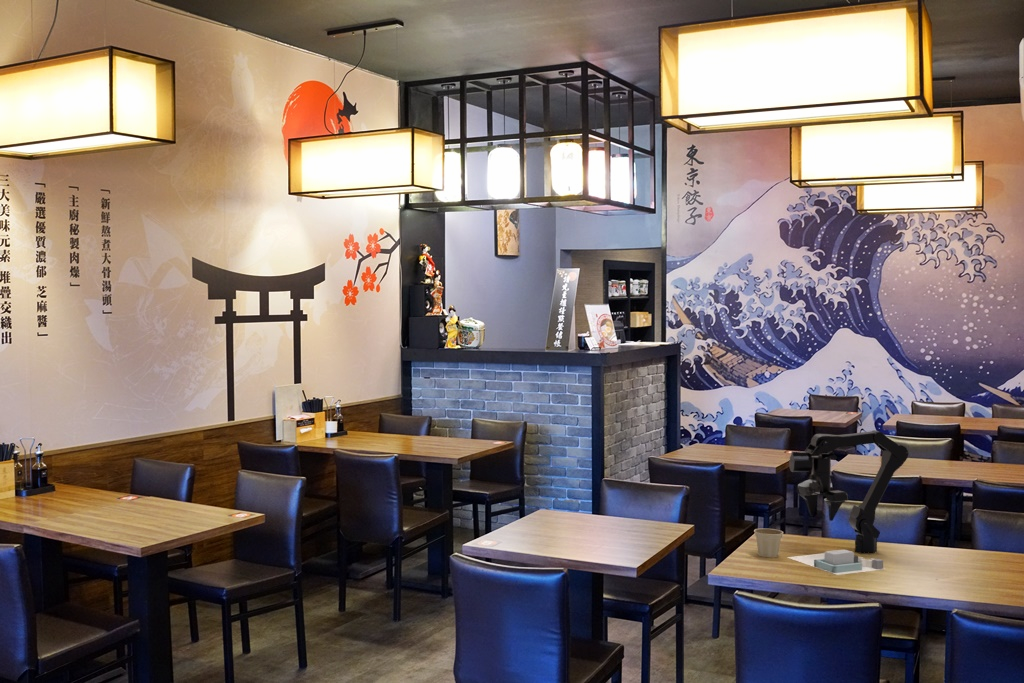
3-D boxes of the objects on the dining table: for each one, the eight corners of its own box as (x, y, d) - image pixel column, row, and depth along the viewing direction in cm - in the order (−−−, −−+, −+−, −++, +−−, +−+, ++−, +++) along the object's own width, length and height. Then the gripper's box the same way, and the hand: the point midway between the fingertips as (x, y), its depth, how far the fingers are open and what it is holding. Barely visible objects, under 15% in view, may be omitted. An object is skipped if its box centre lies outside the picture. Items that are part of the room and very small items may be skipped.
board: (832, 554, 312) (832, 552, 312) (885, 571, 290) (885, 569, 290) (786, 559, 304) (786, 557, 304) (837, 577, 283) (837, 574, 283)
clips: (866, 563, 297) (866, 556, 297) (878, 567, 292) (878, 560, 292) (855, 564, 295) (855, 557, 295) (866, 568, 290) (866, 561, 290)
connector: (824, 567, 291) (824, 551, 291) (851, 564, 295) (851, 548, 295) (833, 570, 288) (833, 554, 288) (860, 567, 292) (860, 551, 292)
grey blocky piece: (868, 563, 296) (868, 555, 296) (883, 568, 290) (883, 560, 290) (856, 565, 294) (856, 557, 294) (871, 570, 288) (871, 561, 288)
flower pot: (780, 554, 312) (780, 528, 312) (785, 561, 302) (785, 534, 302) (751, 553, 313) (751, 528, 313) (756, 560, 303) (756, 534, 303)
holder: (814, 566, 293) (814, 559, 293) (841, 563, 297) (841, 556, 297) (834, 573, 285) (834, 566, 285) (862, 569, 289) (862, 563, 289)
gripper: (783, 469, 318) (783, 514, 318) (822, 477, 301) (821, 525, 301) (809, 467, 323) (809, 512, 323) (848, 475, 305) (848, 522, 306)
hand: (821, 518), depth 313 cm, fingers open, 9 cm apart
